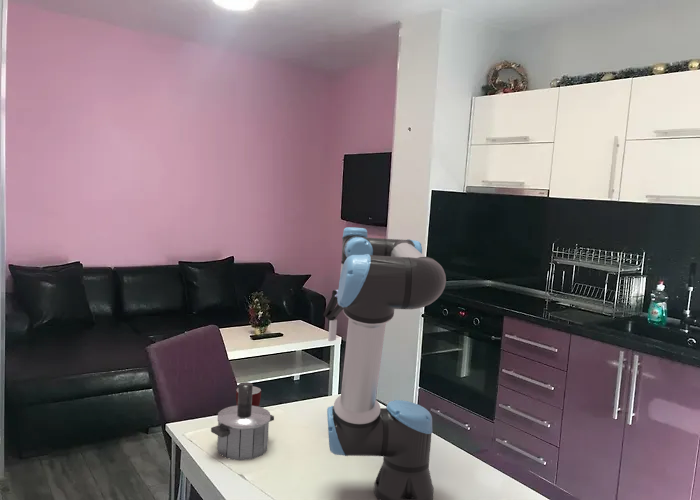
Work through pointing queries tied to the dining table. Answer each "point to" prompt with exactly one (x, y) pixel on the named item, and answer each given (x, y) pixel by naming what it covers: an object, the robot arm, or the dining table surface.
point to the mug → (253, 396)
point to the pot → (242, 441)
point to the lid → (244, 411)
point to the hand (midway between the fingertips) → (347, 345)
